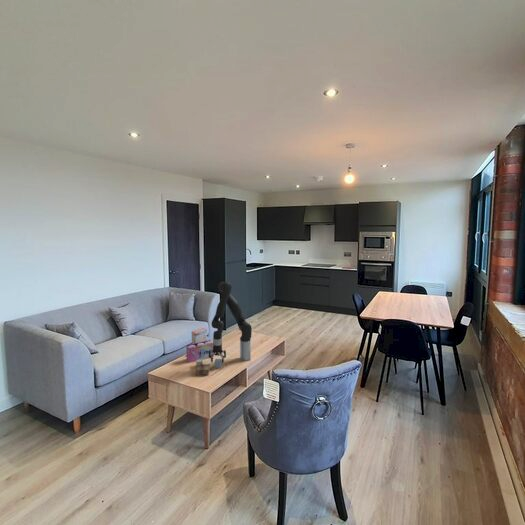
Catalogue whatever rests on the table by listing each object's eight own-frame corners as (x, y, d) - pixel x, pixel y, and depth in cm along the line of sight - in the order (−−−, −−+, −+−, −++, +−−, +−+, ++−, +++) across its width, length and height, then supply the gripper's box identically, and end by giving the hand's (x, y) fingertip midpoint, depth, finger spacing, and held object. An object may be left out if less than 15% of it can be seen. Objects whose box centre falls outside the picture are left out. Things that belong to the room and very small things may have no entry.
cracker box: (203, 348, 309) (202, 327, 307) (207, 350, 305) (207, 328, 303) (191, 353, 298) (191, 331, 296) (196, 354, 295) (195, 332, 292)
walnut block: (209, 370, 264) (209, 364, 263) (208, 375, 254) (208, 369, 253) (197, 370, 263) (197, 364, 262) (195, 376, 253) (195, 370, 252)
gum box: (211, 353, 297) (210, 339, 295) (214, 356, 290) (214, 342, 289) (186, 359, 283) (186, 344, 282) (189, 362, 277) (189, 347, 275)
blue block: (221, 365, 272) (221, 358, 271) (220, 368, 267) (220, 361, 266) (215, 365, 272) (215, 358, 271) (214, 368, 267) (214, 361, 266)
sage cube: (202, 364, 273) (202, 359, 273) (202, 367, 268) (202, 361, 268) (196, 365, 272) (196, 359, 271) (196, 367, 267) (196, 362, 266)
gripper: (226, 342, 271) (226, 360, 273) (209, 341, 271) (209, 360, 273) (225, 345, 263) (225, 364, 265) (208, 344, 264) (208, 363, 265)
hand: (217, 362), depth 269 cm, fingers open, 8 cm apart
